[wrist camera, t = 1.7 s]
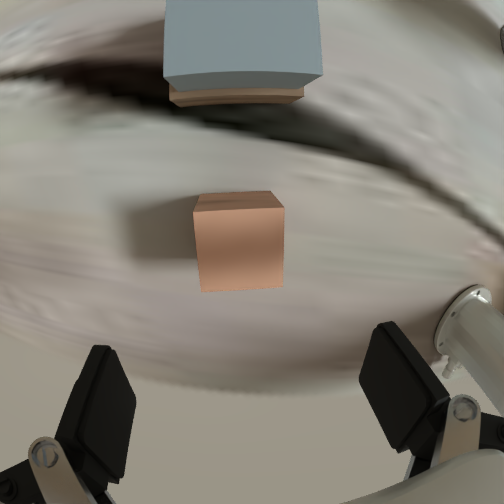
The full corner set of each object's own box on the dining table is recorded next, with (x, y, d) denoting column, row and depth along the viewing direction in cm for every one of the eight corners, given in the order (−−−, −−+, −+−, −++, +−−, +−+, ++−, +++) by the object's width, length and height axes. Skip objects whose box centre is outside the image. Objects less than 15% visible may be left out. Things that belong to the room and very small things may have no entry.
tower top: (298, 89, 17) (322, 75, 12) (178, 91, 16) (163, 77, 11) (293, -4, 13) (312, -36, 9) (180, -4, 13) (170, -37, 8)
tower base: (288, 104, 21) (304, 96, 17) (180, 107, 21) (169, 100, 16) (284, 15, 18) (298, -9, 13) (181, 17, 17) (172, -7, 13)
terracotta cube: (270, 254, 26) (282, 287, 21) (205, 258, 26) (201, 292, 20) (270, 190, 24) (284, 207, 19) (200, 194, 24) (192, 212, 18)
